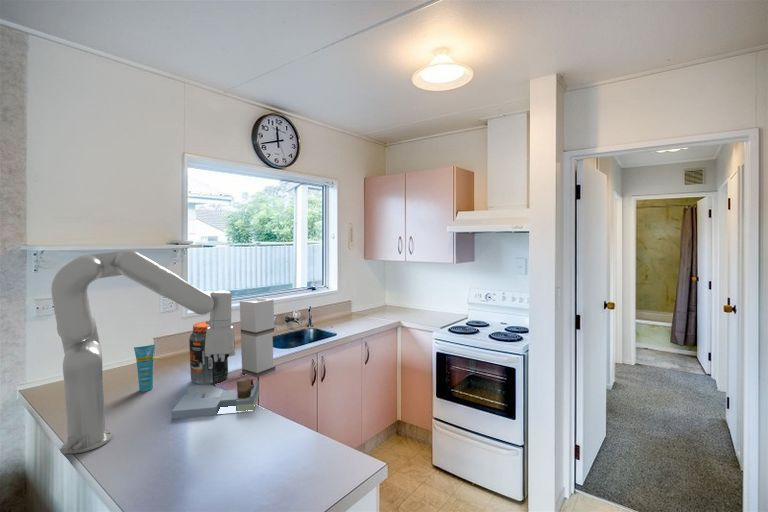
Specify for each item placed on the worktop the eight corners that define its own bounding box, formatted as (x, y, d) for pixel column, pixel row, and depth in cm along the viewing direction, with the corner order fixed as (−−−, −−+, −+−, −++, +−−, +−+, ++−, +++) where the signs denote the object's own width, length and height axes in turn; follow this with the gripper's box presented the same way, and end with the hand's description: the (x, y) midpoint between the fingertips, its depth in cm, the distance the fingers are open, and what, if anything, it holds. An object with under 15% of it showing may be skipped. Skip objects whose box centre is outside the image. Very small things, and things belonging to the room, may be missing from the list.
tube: (136, 393, 159) (133, 348, 158) (136, 389, 163) (133, 345, 162) (156, 389, 163) (154, 345, 162) (156, 385, 167) (154, 342, 166)
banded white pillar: (275, 370, 184) (273, 299, 182) (257, 377, 175) (254, 302, 173) (260, 366, 190) (258, 297, 188) (242, 372, 182) (239, 300, 180)
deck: (253, 411, 141) (252, 395, 140) (172, 419, 136) (171, 402, 135) (259, 395, 156) (258, 380, 155) (186, 401, 150) (185, 386, 150)
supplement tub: (187, 378, 175) (184, 323, 174) (222, 370, 185) (220, 318, 184) (196, 388, 163) (193, 329, 162) (233, 379, 173) (231, 323, 172)
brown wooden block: (252, 396, 147) (252, 381, 147) (239, 399, 144) (238, 384, 144) (249, 392, 151) (248, 377, 151) (236, 395, 148) (235, 380, 148)
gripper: (196, 325, 139) (196, 375, 140) (239, 325, 142) (238, 373, 142) (202, 321, 146) (202, 368, 147) (242, 321, 149) (242, 367, 150)
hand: (220, 370), depth 145 cm, fingers closed
